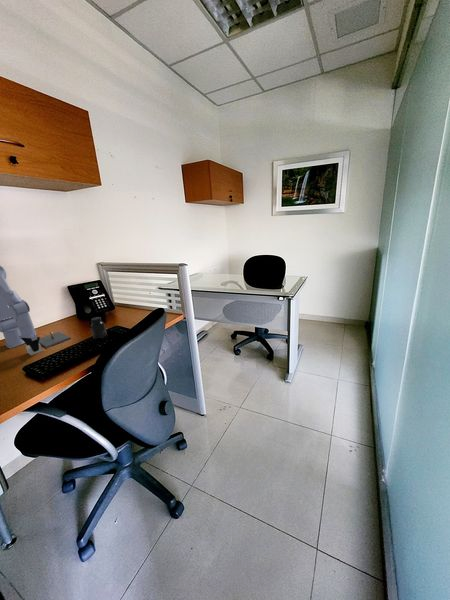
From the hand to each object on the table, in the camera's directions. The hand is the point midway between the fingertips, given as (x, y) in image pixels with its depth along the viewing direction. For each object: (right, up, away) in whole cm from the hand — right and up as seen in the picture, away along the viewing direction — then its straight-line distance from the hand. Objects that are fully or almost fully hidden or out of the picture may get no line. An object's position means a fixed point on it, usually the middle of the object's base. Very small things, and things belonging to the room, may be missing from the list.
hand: (34, 349), depth 123 cm
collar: (0, -1, 0) cm, 1 cm away
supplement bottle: (+29, +4, +11) cm, 31 cm away
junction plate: (+1, +3, +13) cm, 13 cm away
